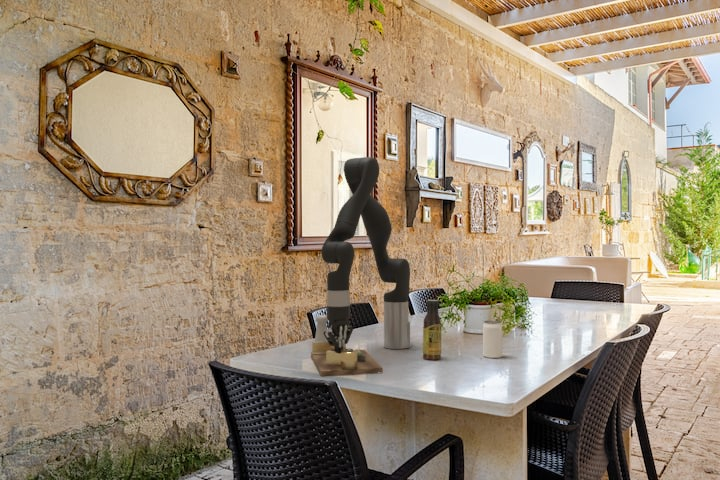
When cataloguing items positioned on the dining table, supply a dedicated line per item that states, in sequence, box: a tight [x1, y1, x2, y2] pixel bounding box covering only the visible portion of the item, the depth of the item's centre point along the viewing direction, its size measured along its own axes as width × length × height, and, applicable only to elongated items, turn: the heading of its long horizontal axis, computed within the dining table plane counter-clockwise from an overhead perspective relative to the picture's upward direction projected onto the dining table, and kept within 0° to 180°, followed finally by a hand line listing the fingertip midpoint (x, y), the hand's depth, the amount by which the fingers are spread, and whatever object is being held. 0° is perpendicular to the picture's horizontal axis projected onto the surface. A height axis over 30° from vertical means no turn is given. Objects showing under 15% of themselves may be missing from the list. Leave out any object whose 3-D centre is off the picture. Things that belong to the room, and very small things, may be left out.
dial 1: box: [311, 340, 347, 353], centre depth 202 cm, size 12×5×6 cm, turn 95°
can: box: [482, 320, 503, 359], centre depth 202 cm, size 6×6×12 cm
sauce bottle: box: [422, 299, 443, 361], centre depth 200 cm, size 6×6×20 cm
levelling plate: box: [310, 348, 383, 377], centre depth 193 cm, size 19×29×5 cm, turn 11°
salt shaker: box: [314, 314, 329, 342], centre depth 216 cm, size 6×6×13 cm
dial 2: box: [326, 348, 357, 369], centre depth 183 cm, size 12×5×6 cm, turn 51°
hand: (339, 358), depth 188 cm, fingers closed
